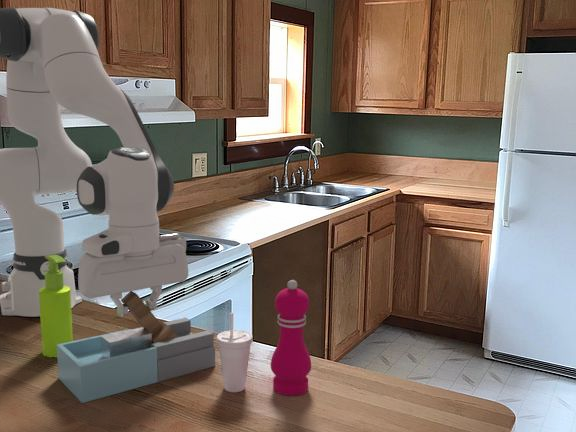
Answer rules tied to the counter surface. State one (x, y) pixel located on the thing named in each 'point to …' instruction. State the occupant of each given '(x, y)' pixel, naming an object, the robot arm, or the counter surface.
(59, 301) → the soap dispenser
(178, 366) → the groove board
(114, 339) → the light grey cube
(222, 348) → the smoothie
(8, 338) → the counter surface
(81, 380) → the tray
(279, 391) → the pepper mill
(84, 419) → the counter surface
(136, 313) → the brown bar
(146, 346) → the grey cube
